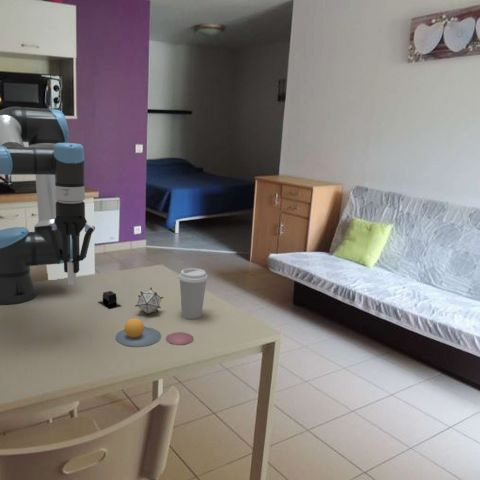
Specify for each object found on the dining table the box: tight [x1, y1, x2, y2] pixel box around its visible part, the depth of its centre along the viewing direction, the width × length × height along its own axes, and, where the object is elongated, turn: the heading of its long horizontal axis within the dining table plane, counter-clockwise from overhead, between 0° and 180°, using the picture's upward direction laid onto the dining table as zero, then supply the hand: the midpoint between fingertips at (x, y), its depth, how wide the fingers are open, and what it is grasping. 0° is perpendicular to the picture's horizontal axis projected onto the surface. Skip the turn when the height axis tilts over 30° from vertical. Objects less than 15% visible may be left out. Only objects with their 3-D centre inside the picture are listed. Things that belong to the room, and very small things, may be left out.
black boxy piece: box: [97, 290, 122, 310], centre depth 162 cm, size 12×7×5 cm, turn 45°
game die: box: [134, 286, 164, 317], centre depth 156 cm, size 9×8×10 cm
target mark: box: [115, 326, 162, 348], centre depth 139 cm, size 13×13×1 cm
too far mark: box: [165, 331, 194, 346], centre depth 140 cm, size 8×8×1 cm
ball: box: [124, 318, 145, 338], centre depth 138 cm, size 6×6×6 cm
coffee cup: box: [177, 267, 209, 320], centre depth 155 cm, size 10×10×15 cm
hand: (72, 283), depth 135 cm, fingers closed
